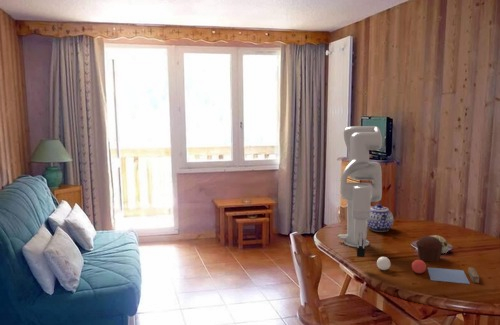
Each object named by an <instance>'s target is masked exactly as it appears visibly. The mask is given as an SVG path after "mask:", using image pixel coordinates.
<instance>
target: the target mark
mask: <svg viewBox="0 0 500 325" xmlns="http://www.w3.org/2000/svg"><path fill="white" fill-rule="evenodd" d="M426 270H427V272H428V275H429V278H430V279H429V280H430V281H435V282H445V283H455V284H465V285H470V284H471V282H470V281H469V279H468V277H467V275H466V273H465V271H464V270H461V269H451V268H450V269H449V268H441V267H440V268H438V267H429V266H428V267H427V266H426Z"/></svg>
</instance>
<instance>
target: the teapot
mask: <svg viewBox="0 0 500 325" xmlns="http://www.w3.org/2000/svg"><path fill="white" fill-rule="evenodd" d="M382 205H383V204H382V203H376V204H374V205H373V206H371V215H370V219H368V220H367V228H369V229H370V230H371V231H373V232H379V233H380V232H381V233H382V232H383V233H384V232H388V231H389V230H390V229H391V228H392V227H393V225H394V215H393V213H392V212H391V211H390V210H389V208H388V207H385V206H382Z"/></svg>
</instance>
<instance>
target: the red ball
mask: <svg viewBox="0 0 500 325" xmlns="http://www.w3.org/2000/svg"><path fill="white" fill-rule="evenodd" d="M411 269H412V271H413V272H415V273H417V274H423V273H424V272H426V270H427V265H426V263H425V262H424V260H422V259H415V260H414V261H412V262H411Z"/></svg>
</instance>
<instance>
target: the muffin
mask: <svg viewBox="0 0 500 325" xmlns="http://www.w3.org/2000/svg"><path fill="white" fill-rule="evenodd" d="M415 243H416V248H417V255H418V258H419V260H422V261H423V262H424V261H425V262H439V261H440V260H441V256H442V253H441V251H442V247H443V245H442V243H441V242H440V241H439V240H438V239H437V238H436V237H433V235H423V236H422V237H420V238H419V239H418V240H417V241H416V242H415Z"/></svg>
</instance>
